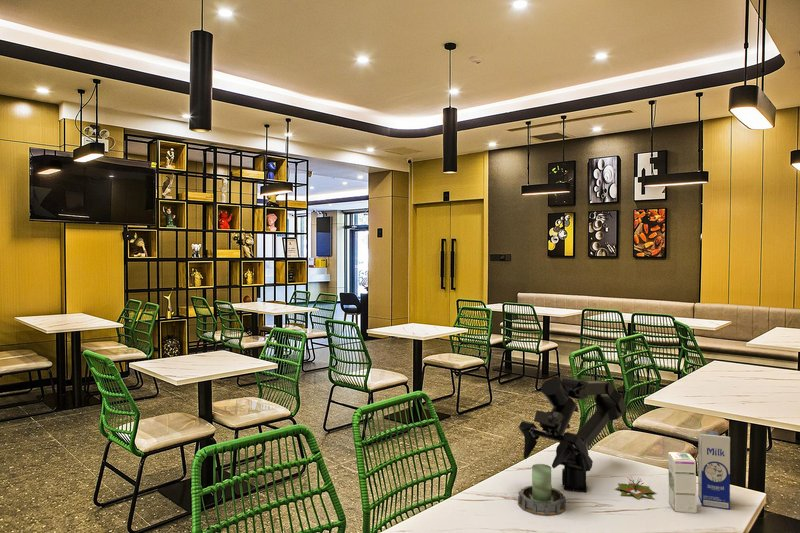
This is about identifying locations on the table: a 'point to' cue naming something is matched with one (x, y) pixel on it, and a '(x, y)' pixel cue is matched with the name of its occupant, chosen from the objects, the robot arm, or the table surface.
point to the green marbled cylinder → (541, 483)
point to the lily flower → (635, 489)
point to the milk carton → (714, 470)
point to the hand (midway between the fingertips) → (538, 462)
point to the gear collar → (542, 503)
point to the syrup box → (682, 482)
